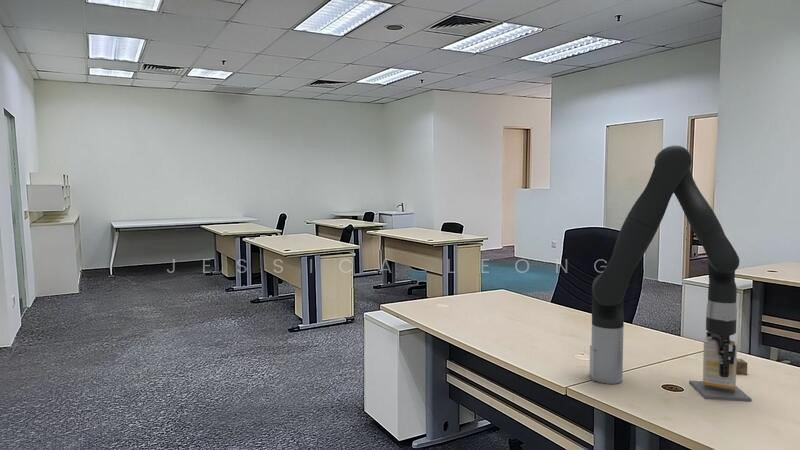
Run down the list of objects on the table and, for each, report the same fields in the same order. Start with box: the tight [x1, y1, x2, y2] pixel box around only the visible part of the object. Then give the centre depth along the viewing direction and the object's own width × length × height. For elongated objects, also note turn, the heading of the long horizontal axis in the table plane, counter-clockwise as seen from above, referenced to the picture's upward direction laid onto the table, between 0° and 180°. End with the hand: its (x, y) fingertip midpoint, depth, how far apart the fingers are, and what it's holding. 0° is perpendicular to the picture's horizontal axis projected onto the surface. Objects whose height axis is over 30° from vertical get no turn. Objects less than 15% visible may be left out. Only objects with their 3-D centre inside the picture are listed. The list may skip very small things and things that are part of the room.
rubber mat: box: [688, 380, 752, 402], centre depth 153 cm, size 12×12×1 cm
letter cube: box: [736, 358, 748, 376], centre depth 168 cm, size 4×4×4 cm
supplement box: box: [702, 336, 738, 389], centre depth 152 cm, size 8×5×13 cm, turn 58°
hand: (719, 372), depth 153 cm, fingers closed on supplement box, 6 cm apart
